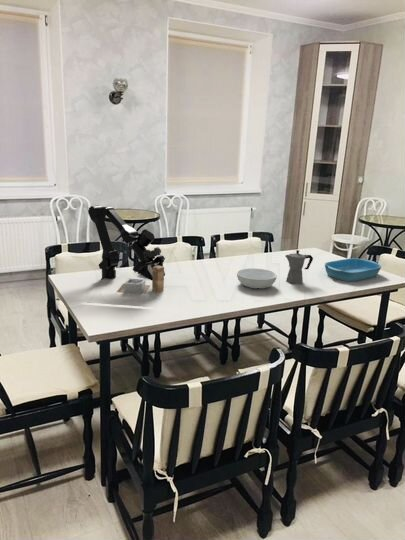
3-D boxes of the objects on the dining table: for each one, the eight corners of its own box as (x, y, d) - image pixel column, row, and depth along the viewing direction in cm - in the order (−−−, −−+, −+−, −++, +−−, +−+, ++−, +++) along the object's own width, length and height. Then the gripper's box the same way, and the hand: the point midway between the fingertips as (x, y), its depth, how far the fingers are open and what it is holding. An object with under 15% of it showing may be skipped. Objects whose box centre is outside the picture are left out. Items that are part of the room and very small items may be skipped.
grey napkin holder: (162, 277, 241) (156, 261, 237) (154, 281, 239) (148, 264, 235) (152, 269, 255) (147, 253, 251) (145, 272, 254) (139, 257, 250)
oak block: (152, 292, 216) (152, 267, 213) (157, 290, 220) (158, 265, 216) (157, 294, 215) (158, 268, 211) (163, 292, 218) (164, 266, 215)
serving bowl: (252, 277, 249) (253, 265, 247) (283, 287, 235) (284, 274, 233) (228, 284, 235) (228, 272, 233) (258, 295, 221) (260, 282, 219)
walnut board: (116, 293, 212) (116, 291, 212) (123, 285, 225) (123, 283, 225) (145, 295, 212) (145, 293, 212) (150, 287, 224) (150, 285, 224)
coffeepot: (284, 283, 240) (287, 251, 235) (280, 278, 249) (284, 247, 244) (312, 284, 241) (316, 252, 236) (307, 279, 250) (311, 248, 245)
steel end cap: (124, 292, 212) (124, 283, 211) (128, 286, 220) (128, 278, 219) (141, 293, 212) (141, 284, 210) (145, 288, 220) (145, 279, 218)
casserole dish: (346, 285, 244) (348, 273, 242) (316, 274, 262) (317, 263, 260) (386, 276, 264) (388, 265, 262) (355, 267, 282) (357, 256, 280)
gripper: (137, 245, 205) (156, 273, 203) (162, 239, 221) (179, 264, 218) (125, 259, 212) (142, 285, 209) (150, 252, 227) (166, 277, 224)
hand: (158, 277), depth 215 cm, fingers open, 9 cm apart
